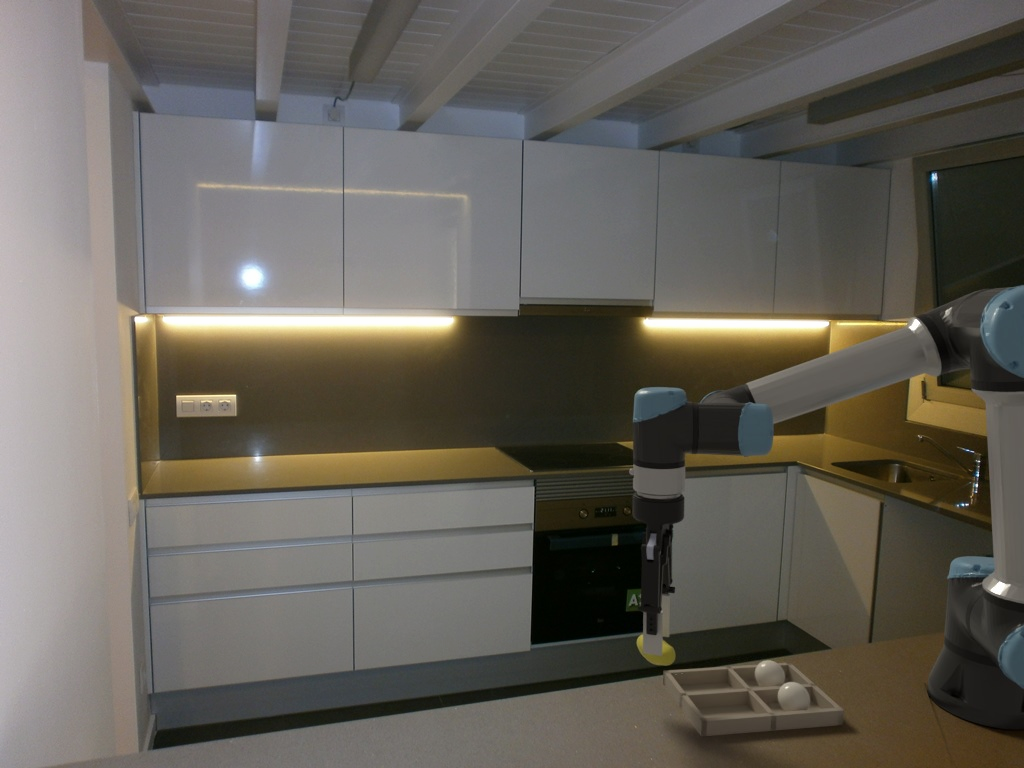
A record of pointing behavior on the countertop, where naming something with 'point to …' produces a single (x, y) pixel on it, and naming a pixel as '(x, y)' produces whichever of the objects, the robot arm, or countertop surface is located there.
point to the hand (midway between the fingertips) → (656, 643)
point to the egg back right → (769, 674)
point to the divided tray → (745, 701)
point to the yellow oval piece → (665, 659)
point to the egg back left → (793, 697)
